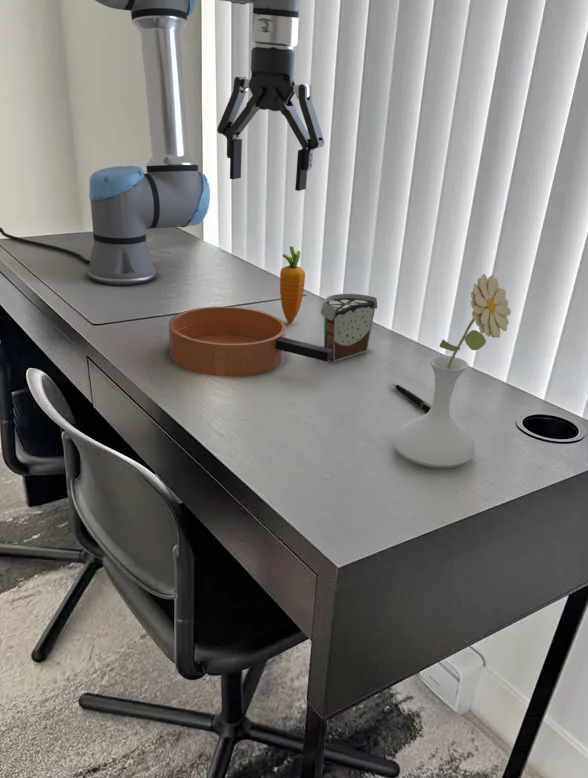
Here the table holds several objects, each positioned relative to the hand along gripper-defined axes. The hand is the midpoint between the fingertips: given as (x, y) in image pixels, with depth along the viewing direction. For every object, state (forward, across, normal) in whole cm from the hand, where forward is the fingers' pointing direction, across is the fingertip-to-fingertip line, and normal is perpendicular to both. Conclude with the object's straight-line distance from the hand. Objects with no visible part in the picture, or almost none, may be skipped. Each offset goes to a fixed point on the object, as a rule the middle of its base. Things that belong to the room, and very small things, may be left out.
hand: (267, 184), depth 128 cm
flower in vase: (+25, +48, -34) cm, 63 cm away
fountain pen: (+26, +39, -19) cm, 51 cm away
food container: (+26, +20, -5) cm, 33 cm away
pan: (+26, +4, -18) cm, 32 cm away
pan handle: (+22, +19, -18) cm, 34 cm away
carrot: (+26, +5, +4) cm, 27 cm away
